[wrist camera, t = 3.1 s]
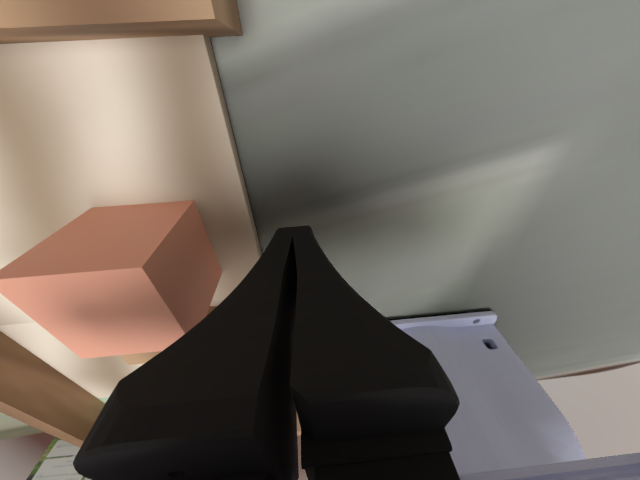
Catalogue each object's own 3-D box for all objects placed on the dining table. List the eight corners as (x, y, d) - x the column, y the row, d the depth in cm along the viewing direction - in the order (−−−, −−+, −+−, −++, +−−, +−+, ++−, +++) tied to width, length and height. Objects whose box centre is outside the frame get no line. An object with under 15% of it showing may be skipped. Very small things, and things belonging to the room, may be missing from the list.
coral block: (193, 200, 10) (141, 267, 6) (222, 272, 12) (194, 348, 9) (91, 207, 9) (-16, 280, 6) (140, 279, 12) (81, 358, 9)
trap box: (234, -12, 7) (198, -58, 4) (306, 394, 23) (307, 434, 20) (-448, 14, 6) (-956, -22, 4) (122, 414, 22) (101, 457, 19)
